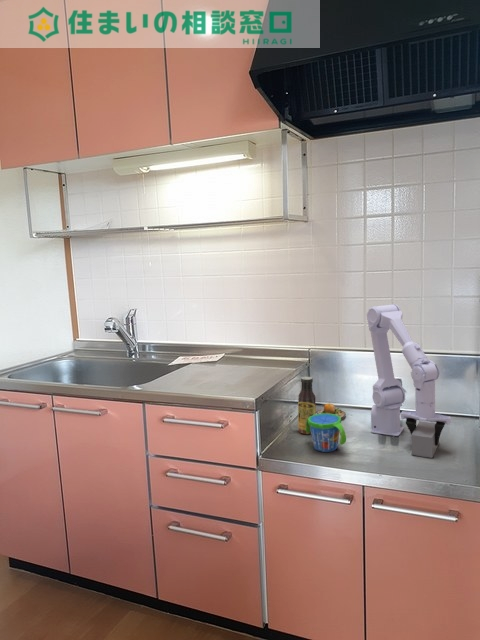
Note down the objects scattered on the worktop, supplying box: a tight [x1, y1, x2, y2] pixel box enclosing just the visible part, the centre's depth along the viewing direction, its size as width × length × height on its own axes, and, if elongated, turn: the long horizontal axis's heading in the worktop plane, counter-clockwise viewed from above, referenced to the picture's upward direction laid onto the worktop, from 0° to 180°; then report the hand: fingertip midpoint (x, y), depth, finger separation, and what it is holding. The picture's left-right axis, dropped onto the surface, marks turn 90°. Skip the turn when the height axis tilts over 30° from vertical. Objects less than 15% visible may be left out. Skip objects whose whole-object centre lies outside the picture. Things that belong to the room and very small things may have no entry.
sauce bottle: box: [297, 376, 317, 435], centre depth 174 cm, size 7×6×20 cm
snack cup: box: [305, 413, 347, 453], centre depth 160 cm, size 16×10×10 cm
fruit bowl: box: [316, 402, 347, 421], centre depth 189 cm, size 12×12×8 cm
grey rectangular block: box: [410, 420, 438, 459], centre depth 155 cm, size 6×12×6 cm, turn 149°
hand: (425, 442), depth 155 cm, fingers closed on grey rectangular block, 6 cm apart
